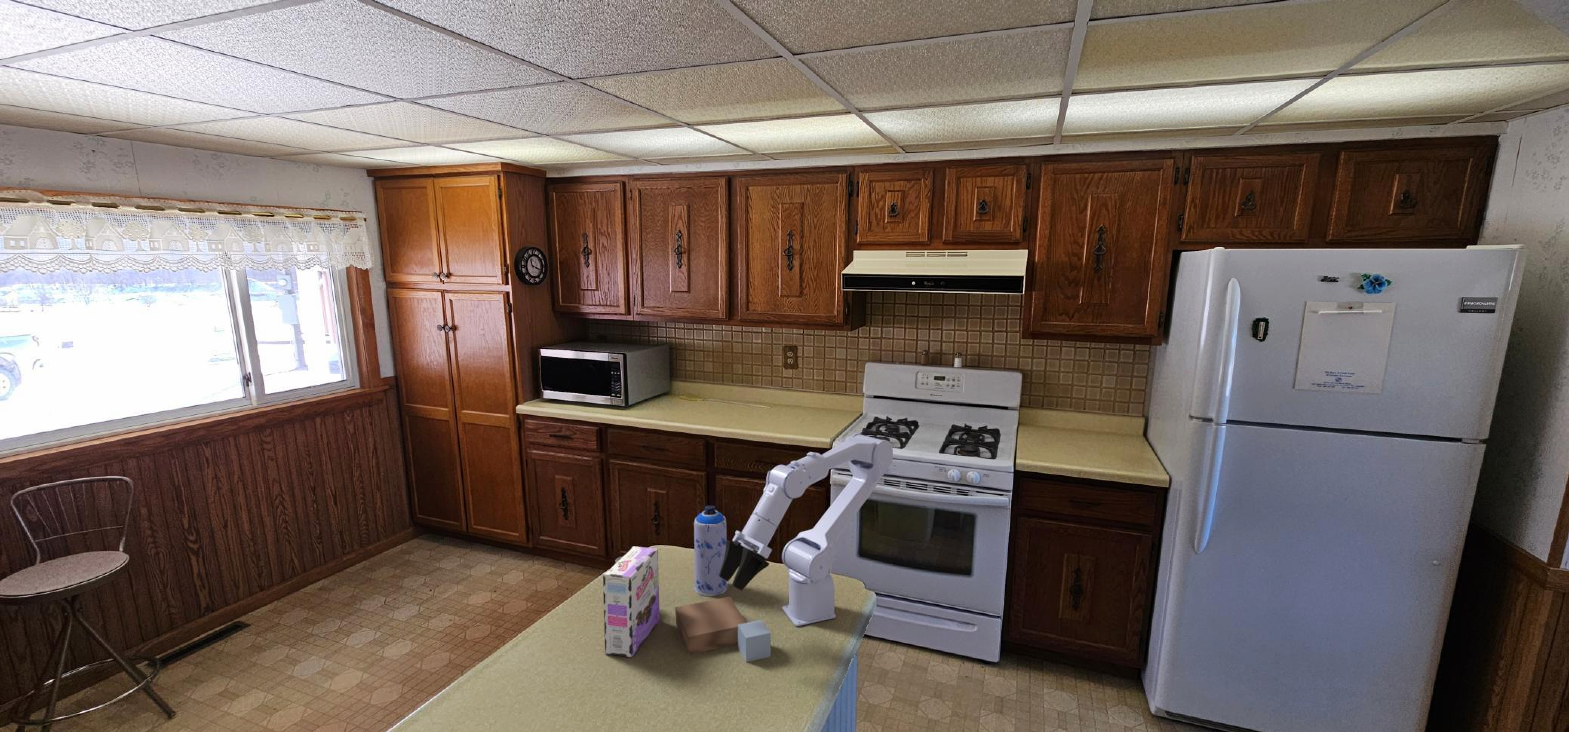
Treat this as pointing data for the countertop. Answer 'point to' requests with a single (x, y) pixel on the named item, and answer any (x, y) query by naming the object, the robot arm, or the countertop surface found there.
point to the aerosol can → (709, 552)
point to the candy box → (631, 601)
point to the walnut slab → (708, 624)
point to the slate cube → (754, 640)
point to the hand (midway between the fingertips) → (729, 583)
